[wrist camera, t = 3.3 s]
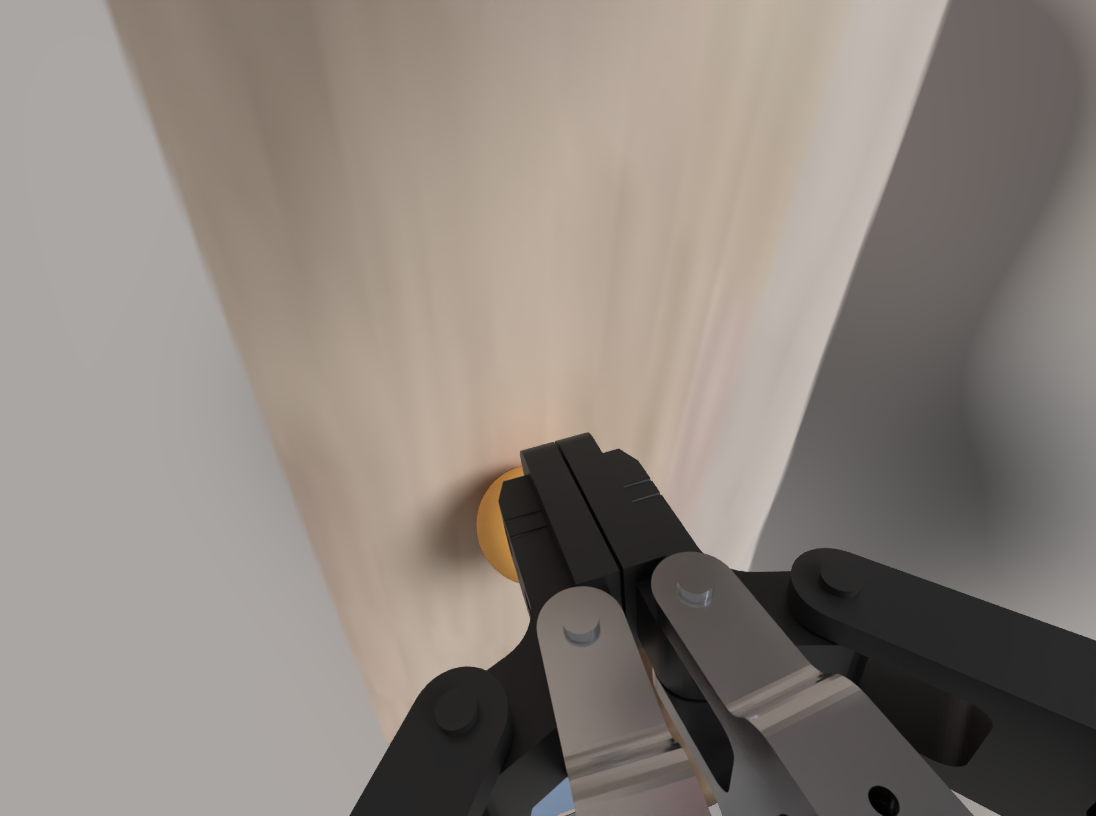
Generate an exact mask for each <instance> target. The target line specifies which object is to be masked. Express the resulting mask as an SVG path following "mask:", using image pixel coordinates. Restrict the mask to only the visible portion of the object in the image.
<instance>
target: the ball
mask: <svg viewBox="0 0 1096 816" xmlns="http://www.w3.org/2000/svg"><path fill="white" fill-rule="evenodd" d="M521 476H524V473H523V468H522V466H520V467H517V468H514V469H512V470H510V471H508V472H506V473H504V474H503V475H502V476H500V477H499V478H498V479H497V480H495V481H494V483H493V484H492V485H491V486H490V487H489V489H488V490H487V491H486V493H485V495H484V497H483V499H482V501H481V503H480V506H479V510H478V514H477V536H478V541H479V544H480V547H481V549H482V552H483V554H484V555H485V557H486V559H487V560H488V562H489V563H490V564H491V565H492V566H493V568H494V569H495V570H497V571H498V572H499V573H500V574H502V575H503V576H504V577H506V578H508V579H510V580H512V581H514V582H517V583H519V580H518V577H517V573H516V570H515V567H514V563H513V560H512V557H511V553H510V550H509V545H508V541H507V537H506V533H505V528H504V524H503V520H502V515H501V511H500V507H499V502H498V500H499V496H500V492H501V487H502V483H503V481H506V480H510V479H513V478H517V477H521Z"/></svg>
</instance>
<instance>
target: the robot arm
mask: <svg viewBox="0 0 1096 816" xmlns="http://www.w3.org/2000/svg"><path fill="white" fill-rule="evenodd" d="M520 457H521V463H522V468H523V473H524V476H521V477H517V478H513V479H510V480H506V481H503V483H502V487H501V492H500V496H499V500H498V502H499V507H500V511H501V515H502V520H503V524H504V528H505V533H506V537H507V541H508V545H509V550H510V553H511V557H512V560H513V563H514V567H515V570H516V573H517V577H518V580H519V583H520V586H521V589H522V593H523V596H524V600H525V603H526V606H527V610H528V613H529V616H530V623H529V627H528V630H527V632H526V634H525V636H524V638H523V639H522V641H521V642H520V643H519V645H518V646H517V647H516V648H515V649H514V650H513V651H512V652H511V653H510V654H508V655H507V656H506V657H505V658H503V659H502V660H500V661H499V662H498V663H496V664H495V665H494V666H492V667H491V668H489V669H488V670H487V671H486V670H483V669H481V668H477V667H458V668H454V669H451V670H448V671H446V672H444V673H442V674H440V675H439V676H437V677H436V678H434V679H433V680H432V681H431V682H430V683H428V684H427V685H426V687H425V688H424V689H423V690H422V691H421V693H420V694H419V696H418V697H417V699H416V700H415V702H414V704H413V706H412V707H411V709H410V711H409V713H408V714H407V716H406V718H405V720H404V721H403V723H402V725H401V727H400V728H399V730H398V732H397V734H396V735H395V737H394V739H393V741H392V742H391V744H390V746H389V748H388V749H387V751H386V753H385V755H384V756H383V758H382V760H381V762H380V763H379V765H378V767H377V769H376V770H375V772H374V774H373V775H372V777H371V779H370V781H369V783H368V784H367V786H366V788H365V789H364V791H363V793H362V795H361V796H360V798H359V800H358V802H357V803H356V805H355V807H354V809H353V810H352V812H351V814H350V816H531V813H532V809H533V807H534V806H536V805H537V804H538V803H539V802H540V801H541V800H542V799H543V798H544V797H546V796H547V795H548V794H549V793H550V792H551V791H552V790H553V789H554V788H556V787H557V786H558V785H559V784H560V783H561V782H562V781H563V780H564V779H566V778H567V777H568V779H569V784H570V788H571V793H572V798H573V802H574V807H575V811H576V816H711V814H710V811H709V808H708V806H707V803H706V801H705V798H704V796H703V793H702V791H701V788H700V786H699V783H698V780H697V778H696V775H695V773H694V771H693V768H692V766H691V764H690V761H689V759H688V757H687V755H686V753H685V751H684V750H683V748H682V746H681V745H680V744H679V743H678V742H676V741H674V739H673V738H672V736H671V734H670V732H669V730H668V728H667V725H666V723H665V720H664V717H663V715H662V712H661V709H660V707H659V704H658V701H657V699H656V696H655V694H654V691H653V688H652V686H651V683H650V680H649V678H648V675H647V673H646V670H645V667H644V665H643V662H642V659H641V657H640V654H639V651H638V649H641V648H644V650H645V652H646V654H647V656H648V658H649V661H650V663H651V665H652V670H653V683H654V687H655V689H656V691H657V693H658V695H659V697H660V699H661V701H662V702H663V704H664V706H665V708H666V710H667V711H668V713H669V715H670V717H671V719H672V720H673V722H674V724H675V726H676V728H677V729H678V731H679V733H680V735H681V737H682V738H683V740H684V742H685V744H686V746H687V747H688V749H689V751H690V753H691V755H692V756H693V758H694V760H695V762H696V764H697V765H698V767H699V769H700V771H701V773H702V774H703V776H704V778H705V780H706V781H707V783H708V785H709V787H710V789H711V791H712V792H713V794H714V796H715V798H716V800H717V803H718V805H719V808H720V810H721V813H722V816H973V814H972V813H971V812H970V811H969V810H968V809H967V808H966V807H965V806H964V804H963V803H962V802H961V801H960V800H959V799H958V798H957V796H956V795H955V794H954V793H953V792H952V791H951V790H953V791H955V792H957V793H959V794H961V795H963V796H965V797H966V798H968V799H970V800H972V801H974V802H976V803H978V804H980V805H982V806H984V807H986V808H988V809H989V810H991V811H993V812H995V813H997V814H999V815H1001V816H1096V641H1095V640H1093V639H1090V638H1087V637H1084V636H1082V635H1078V634H1076V633H1073V632H1070V631H1067V630H1065V629H1062V628H1059V627H1056V626H1053V625H1051V624H1048V623H1045V622H1042V621H1040V620H1037V619H1034V618H1031V617H1028V616H1026V615H1023V614H1020V613H1017V612H1014V611H1012V610H1009V609H1006V608H1003V607H1000V606H998V605H995V604H992V603H989V602H986V601H984V600H981V599H978V598H975V597H972V596H970V595H967V594H964V593H961V592H958V591H956V590H953V589H950V588H947V587H944V586H942V585H939V584H936V583H933V582H930V581H927V580H925V579H922V578H919V577H916V576H914V575H911V574H908V573H905V572H903V571H900V570H897V569H894V568H891V567H889V566H885V565H883V564H880V563H877V562H874V561H872V560H869V559H866V558H863V557H860V556H858V555H855V554H852V553H849V552H846V551H843V550H838V549H832V548H831V549H830V548H819V549H814V550H810V551H807V552H805V553H803V554H802V555H800V556H799V557H798V558H797V559H796V560H795V562H794V564H793V566H792V569H791V571H784V572H783V571H781V572H744V571H737V570H733V569H730V568H729V567H728V566H727V565H726V564H724V563H723V562H722V561H720V560H719V559H717V558H715V557H713V556H710V555H708V554H704V553H703V552H702V551H701V550H700V549H699V548H698V546H697V545H696V544H695V542H694V541H693V539H692V538H691V536H690V535H689V533H688V532H687V531H686V529H685V528H684V526H683V525H682V523H681V522H680V520H679V519H678V518H677V516H676V515H675V513H674V512H673V510H672V509H671V507H670V506H669V505H668V503H667V502H666V500H665V499H664V497H663V496H662V495H660V492H659V490H658V489H657V487H656V486H655V484H654V483H653V481H651V480H650V477H649V476H648V474H647V473H646V471H645V470H644V468H643V467H642V466H641V464H640V463H639V461H638V460H636V459H635V458H633V457H631V456H630V455H628V454H627V453H625V452H623V451H622V450H620V449H616V450H612V451H609V452H605V453H602V451H601V450H600V448H599V446H598V445H597V443H596V442H595V440H594V438H593V437H592V435H591V434H590V433H589V432H587V433H583V434H580V435H576V436H572V437H569V438H565V439H561V440H558V441H555V443H554V442H551V443H547V444H544V445H540V446H536V447H533V448H529V449H525V450H522V451H520ZM950 789H951V790H950Z"/></svg>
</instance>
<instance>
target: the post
mask: <svg viewBox="0 0 1096 816" xmlns="http://www.w3.org/2000/svg"><path fill="white" fill-rule="evenodd" d="M638 651H639V654H640V657H641V659H642V662H643V665H644V667H645V670H646V673H647V675H648V678H649V680H650V683H651V686H652V688H653V691H654V694H655V696H656V699H657V701H658V704H659V707H660V709H661V712H662V715H663V717H664V720H665V723H666V725H667V728H668V730H669V732H670V734H671V736H672V738H673V739H674V741H676V742H678V743H679V744H680V745H681V746H682V748H683V750H684V751H685V753H686V755H687V757H688V759H689V761H690V764H691V766H692V768H693V771H694V773H695V775H696V778H697V780H698V783H699V786H700V788H701V791H702V793H703V796H704V798H705V801H706V803H707V806H708V807H709V806H712V805H714V804H716V803H717V800H716V798H715V796H714V794H713V792H712V791H711V789H710V787H709V785H708V783H707V781H706V780H705V778H704V776H703V774H702V773H701V771H700V769H699V767H698V765H697V764H696V762H695V760H694V758H693V756H692V755H691V753H690V751H689V749H688V747H687V746H686V744H685V742H684V740H683V738H682V737H681V735H680V733H679V731H678V729H677V728H676V726H675V724H674V722H673V720H672V719H671V717H670V715H669V713H668V711H667V710H666V708H665V706H664V704H663V702H662V701H661V699H660V697H659V695H658V693H657V691H656V689H655V687H654V683H653V670H652V665H651V663H650V661H649V658H648V656H647V654H646V652H645V650H644V648H641V649H638Z"/></svg>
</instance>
